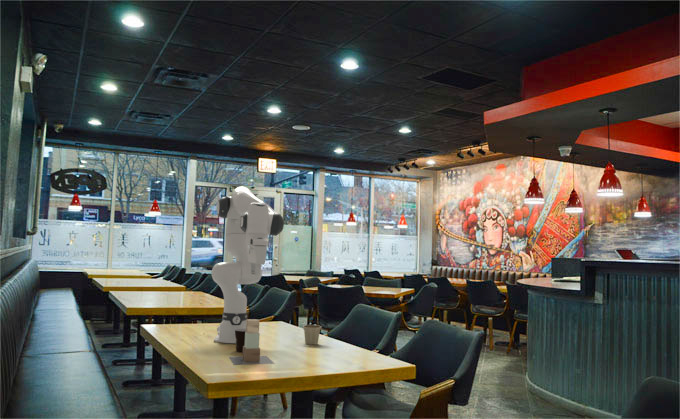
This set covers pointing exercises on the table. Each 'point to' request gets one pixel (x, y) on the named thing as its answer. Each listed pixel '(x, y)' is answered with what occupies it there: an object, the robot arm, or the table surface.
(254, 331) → the maple block
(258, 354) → the walnut block
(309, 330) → the flower pot
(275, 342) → the table surface
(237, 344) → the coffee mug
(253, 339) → the sage block
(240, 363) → the plate
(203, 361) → the table surface
